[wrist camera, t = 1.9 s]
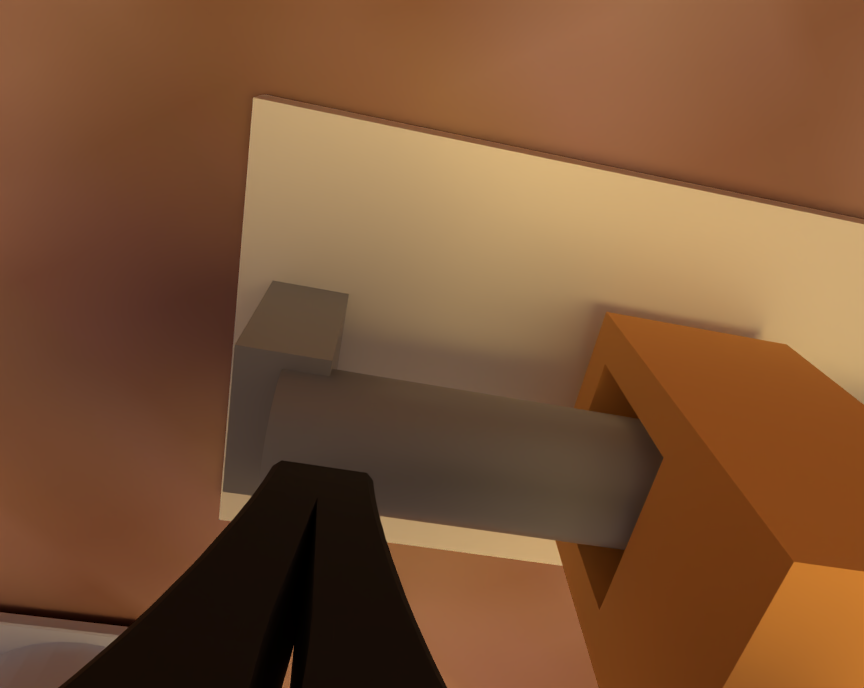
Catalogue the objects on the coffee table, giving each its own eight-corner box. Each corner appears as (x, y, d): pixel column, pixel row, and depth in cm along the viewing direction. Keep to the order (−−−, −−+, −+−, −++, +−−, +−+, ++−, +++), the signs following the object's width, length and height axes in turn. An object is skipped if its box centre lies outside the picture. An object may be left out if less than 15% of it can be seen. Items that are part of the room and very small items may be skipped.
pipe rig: (1369, 324, 16) (1815, 452, 11) (1114, 617, 20) (1351, 808, 15) (264, 94, 13) (170, 122, 8) (229, 494, 17) (153, 681, 12)
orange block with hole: (787, 344, 13) (1124, 609, 7) (702, 522, 15) (907, 854, 9) (606, 311, 13) (793, 562, 7) (542, 499, 15) (641, 831, 9)
